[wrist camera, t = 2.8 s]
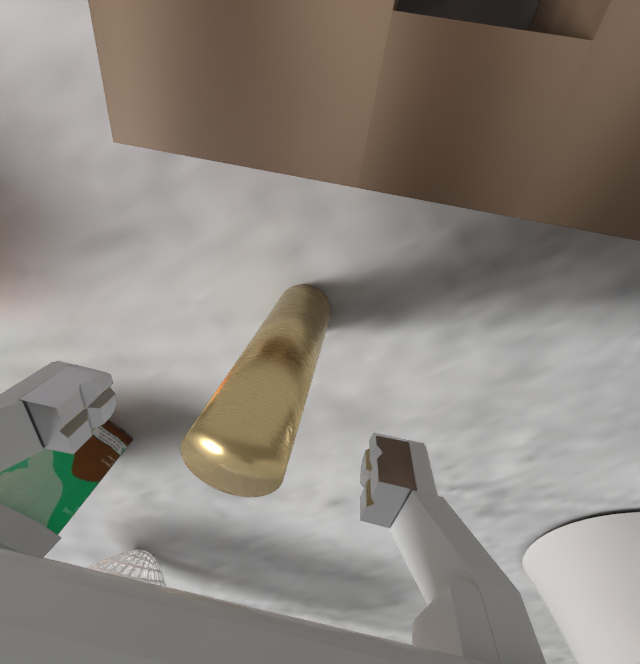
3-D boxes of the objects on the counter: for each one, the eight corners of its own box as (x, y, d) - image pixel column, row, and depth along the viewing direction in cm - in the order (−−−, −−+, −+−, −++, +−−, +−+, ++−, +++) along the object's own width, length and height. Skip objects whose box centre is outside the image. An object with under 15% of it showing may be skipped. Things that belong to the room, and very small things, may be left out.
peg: (335, 290, 16) (288, 442, 7) (326, 337, 17) (279, 506, 9) (281, 279, 16) (175, 414, 8) (277, 326, 18) (185, 482, 9)
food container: (95, 382, 23) (-70, 515, 14) (145, 437, 26) (29, 576, 17) (6, 410, 27) (-165, 527, 18) (56, 455, 30) (-74, 575, 21)
